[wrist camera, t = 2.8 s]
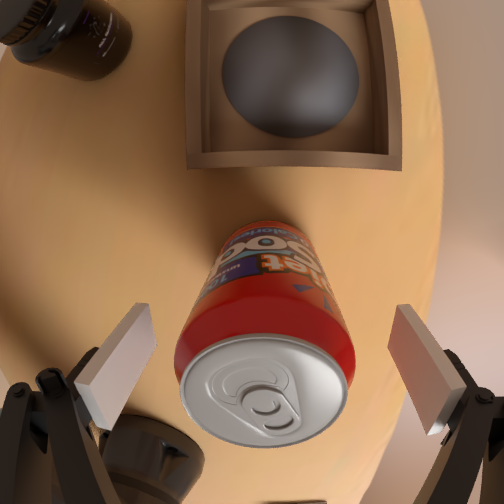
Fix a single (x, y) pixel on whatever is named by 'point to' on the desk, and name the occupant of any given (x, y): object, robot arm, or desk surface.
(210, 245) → the desk surface
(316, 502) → the grey desk tray
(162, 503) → the robot arm
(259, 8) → the walnut box
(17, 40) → the supplement bottle
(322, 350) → the soda can
